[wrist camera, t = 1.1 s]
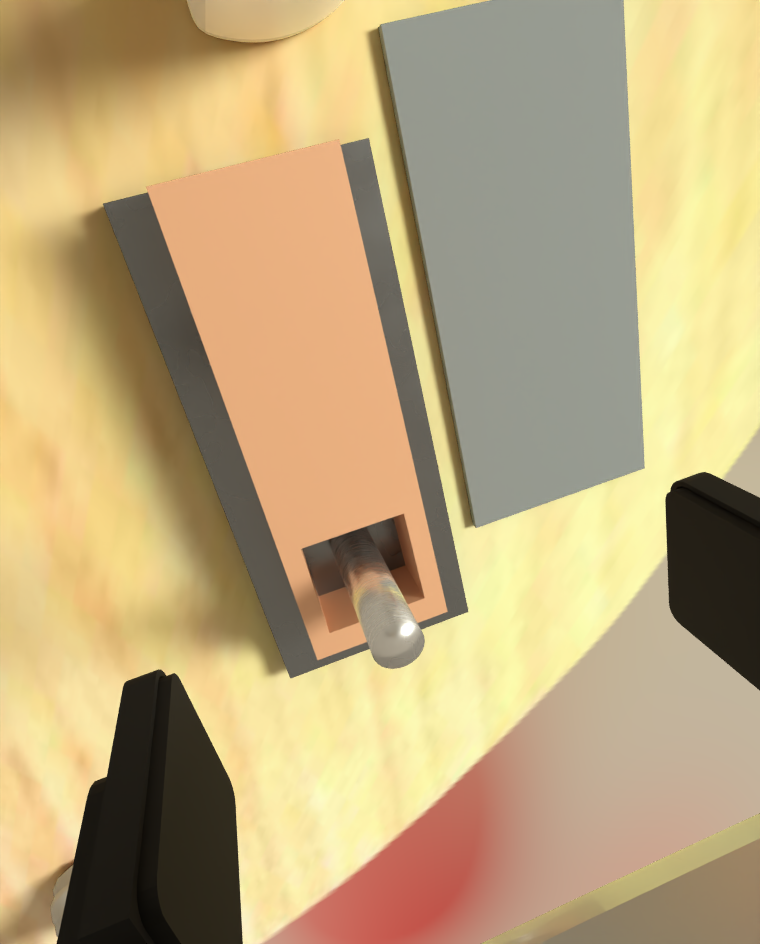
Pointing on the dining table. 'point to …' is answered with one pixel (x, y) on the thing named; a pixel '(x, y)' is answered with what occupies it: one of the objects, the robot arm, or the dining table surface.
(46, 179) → the dining table surface
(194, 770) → the robot arm
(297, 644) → the pin stand
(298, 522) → the link bar
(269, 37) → the eye dropper bottle
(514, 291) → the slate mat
